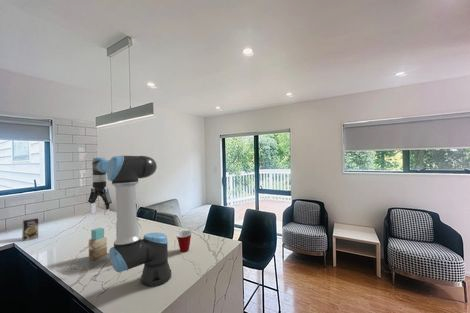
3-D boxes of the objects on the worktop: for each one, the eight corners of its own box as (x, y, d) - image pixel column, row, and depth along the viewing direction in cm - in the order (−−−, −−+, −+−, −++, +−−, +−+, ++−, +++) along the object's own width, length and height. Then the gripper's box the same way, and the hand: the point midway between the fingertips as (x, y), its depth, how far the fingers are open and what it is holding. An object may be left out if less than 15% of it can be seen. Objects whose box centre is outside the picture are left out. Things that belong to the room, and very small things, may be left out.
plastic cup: (173, 251, 145) (172, 233, 146) (186, 246, 154) (185, 229, 154) (182, 255, 138) (181, 237, 139) (195, 250, 146) (195, 232, 147)
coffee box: (23, 241, 173) (23, 221, 173) (22, 239, 177) (22, 220, 177) (38, 238, 180) (38, 218, 180) (37, 236, 184) (36, 217, 184)
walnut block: (106, 256, 137) (106, 246, 137) (95, 260, 131) (95, 251, 131) (100, 254, 140) (99, 245, 140) (88, 258, 134) (88, 249, 134)
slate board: (119, 258, 137) (119, 255, 137) (90, 271, 121) (90, 268, 121) (101, 253, 145) (101, 251, 145) (72, 265, 128) (72, 263, 128)
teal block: (104, 237, 137) (104, 228, 137) (96, 240, 132) (96, 230, 132) (99, 236, 139) (99, 227, 139) (91, 239, 134) (91, 229, 134)
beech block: (106, 246, 137) (106, 237, 137) (95, 251, 131) (95, 241, 131) (99, 245, 140) (99, 236, 140) (88, 249, 134) (88, 239, 134)
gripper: (117, 180, 137) (118, 213, 137) (93, 180, 148) (93, 211, 147) (106, 182, 131) (107, 216, 130) (81, 181, 141) (82, 213, 140)
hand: (99, 213), depth 139 cm, fingers open, 13 cm apart
